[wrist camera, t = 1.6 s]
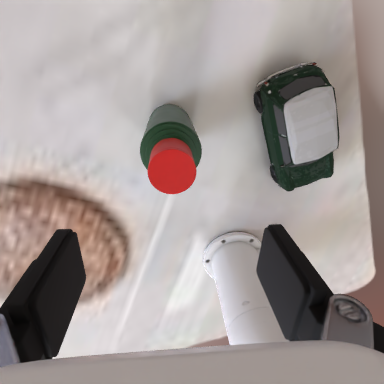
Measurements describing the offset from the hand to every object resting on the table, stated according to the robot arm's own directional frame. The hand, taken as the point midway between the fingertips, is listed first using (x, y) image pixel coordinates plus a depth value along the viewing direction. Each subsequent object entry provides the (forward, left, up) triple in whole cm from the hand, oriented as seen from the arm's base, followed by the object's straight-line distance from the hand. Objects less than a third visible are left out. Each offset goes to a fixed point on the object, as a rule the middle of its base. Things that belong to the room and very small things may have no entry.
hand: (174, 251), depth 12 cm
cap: (0, 0, -13) cm, 13 cm away
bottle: (0, 0, -28) cm, 28 cm away
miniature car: (-19, 0, -28) cm, 34 cm away
